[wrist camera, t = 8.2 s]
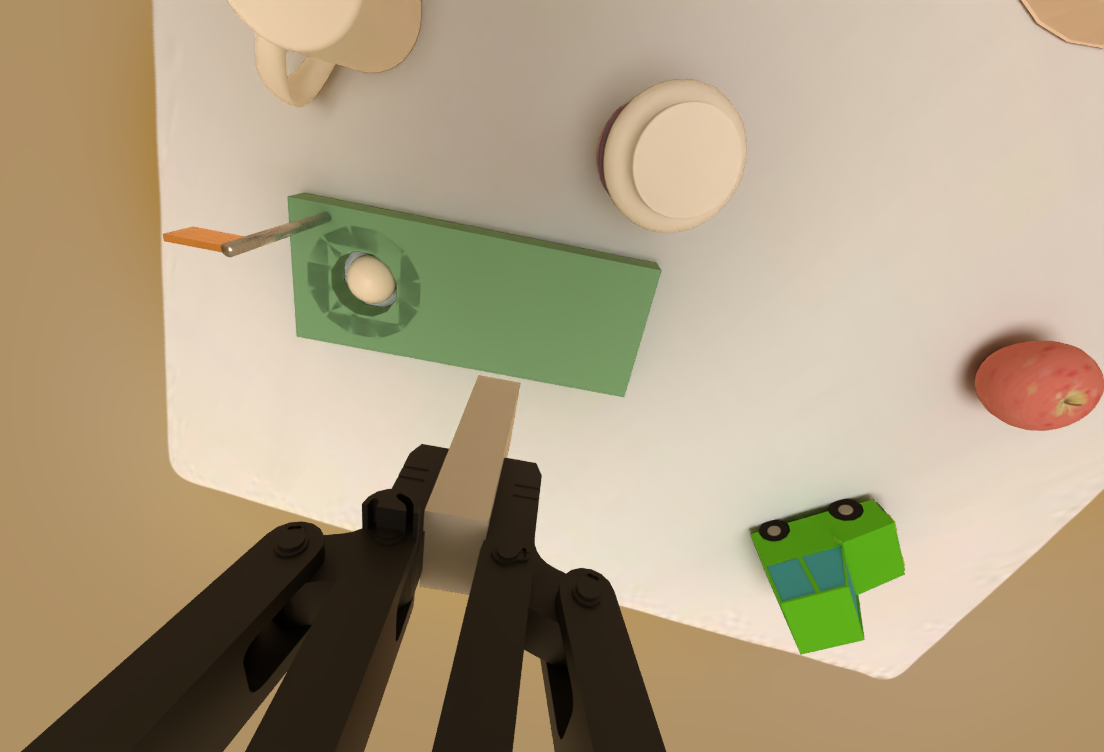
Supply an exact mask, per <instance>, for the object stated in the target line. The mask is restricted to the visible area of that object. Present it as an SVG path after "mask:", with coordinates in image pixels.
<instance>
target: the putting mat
mask: <svg viewBox="0 0 1104 752" xmlns="http://www.w3.org/2000/svg"><path fill="white" fill-rule="evenodd" d="M288 211H289V223H291V222H294V221H297V220H300V219H303V218H307V217H310V216H313V215H316V214H320V213H323V212H328V213H329V214H330V215H331V217H332V219H331V221H330V222H328V223H325V224H323V225H320V226H317V227H314V228H311V229H309V230H306V231H303V232H300V233H297V234H294V235H292V236H290V241H291V257H292V272H293V287H294V302H295V318H296V333H297V337H302V338H308V339H313V340H318V341H324V342H329V343H335V344H340V345H345V346H351V347H356V348H361V349H367V350H372V351H378V352H383V353H388V354H394V355H399V356H405V357H410V358H415V359H421V360H426V361H431V362H437V363H442V364H448V365H453V366H458V367H464V368H469V369H475V370H480V371H485V372H491V373H496V374H502V375H507V376H512V377H518V378H523V379H528V380H534V381H539V382H545V383H550V384H555V385H561V386H566V387H572V388H577V389H582V390H588V391H593V392H599V393H604V394H609V395H615V396H620V397H624V395H625V392H626V389H627V385H628V382H629V378H630V375H631V372H632V368H633V365H634V361H635V358H636V355H637V351H638V348H639V345H640V341H641V338H642V334H643V331H644V328H645V324H646V321H647V317H648V314H649V311H650V307H651V304H652V300H653V297H654V294H655V290H656V287H657V283H658V280H659V277H660V273H661V269H660V268H659V266H658V265H657V263H654V262H649V261H643V260H638V259H633V258H628V257H623V256H618V255H613V254H608V253H603V252H598V251H593V250H588V249H583V248H578V247H573V246H568V245H563V244H558V243H553V242H548V241H543V240H538V239H533V238H528V237H523V236H518V235H513V234H508V233H503V232H498V231H493V230H488V229H483V228H478V227H473V226H468V225H462V224H457V223H452V222H447V221H442V220H437V219H432V218H427V217H422V216H417V215H412V214H407V213H402V212H397V211H392V210H387V209H382V208H377V207H372V206H367V205H362V204H357V203H352V202H347V201H342V200H337V199H332V198H327V197H322V196H317V195H312V194H307V193H301V194H297V195H292V196H288ZM354 251H358V252H363V253H369V254H373V255H375V256H376V257H377V258H379V259H380V260H381V261H382V262H384V263H385V264H386V265H388V266H389V268H390V270H391V272H392V274H393V276H394V278H395V280H396V282H397V294H396V301H395V302H394V303H393V304H392V305H389V306H386V307H383V308H382V307H377V306H372V305H367V304H365V303H364V302H363V301H361V300H360V299H358V298H357V297H356V296H354V295H353V294H352V292H351V290H350V289H349V287H348V285H347V283H346V281H345V279H344V262H345V261H346V259H347V258H348V256H349V255H350V253H351V252H354Z"/></svg>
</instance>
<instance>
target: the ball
mask: <svg viewBox="0 0 1104 752" xmlns="http://www.w3.org/2000/svg"><path fill="white" fill-rule="evenodd" d="M347 284H348V287H349V289H350V290H351V292H352V293H353V294H354V295H355V296H356V297H357V298H358V299H360V300H362V301H364V302H368V303H379V302H383V301H385V300H387V299H388V298H389V297H390V296H391V295H392V294H393V293H394V291H395V289H396V286H397V282H396V280H395V278H394V276H393V274H392V272H391V270H390V268H389V266H388V265H386V264H385V263H384V262H382V261H381V260H380V259H379V258H377V257H376V256H375V255H365V256H362V257H359V258H357V259H356V260H355V261H353V262H352V264H351V265H350V267H349V268H348V271H347Z"/></svg>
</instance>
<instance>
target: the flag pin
mask: <svg viewBox="0 0 1104 752" xmlns="http://www.w3.org/2000/svg"><path fill="white" fill-rule="evenodd" d="M331 219H332V217H331V215H330V214H329V213H328V212H323V213H320V214H316V215H313V216H310V217H307V218H303V219H300V220H297V221H294V222H291V223H287V224H284V225H281V226H278V227H274V228H271V229H268V230H265V231H261V232H258V233H255V234H252V235H248V236H245V237H244V236H239V235H234V234H229V233H224V232H218V231H213V230H208V229H203V228H198V227H190V228H186V229H181V230H177V231H173V232H169V233H165V234H163V238H164V241H166V242H171V243H177V244H182V245H187V246H192V247H197V248H203V249H208V250H213V251H218V252H222V253H223V254H224V255H225V256H227V257H233V256H236V255H238V254H241V253H244V252H247V251H250V250H252V249H255V248H258V247H261V246H264V245H266V244H269V243H272V242H275V241H278V240H280V239H283V238H286V237H289V236H292V235H294V234H297V233H300V232H303V231H306V230H309V229H311V228H314V227H317V226H320V225H323V224H325V223H328V222H330V221H331Z"/></svg>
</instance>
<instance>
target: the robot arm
mask: <svg viewBox="0 0 1104 752" xmlns="http://www.w3.org/2000/svg"><path fill="white" fill-rule="evenodd" d="M519 388H520V383H518V382H512V381H507V380H501V379H496V378H490V377H485V376H478V378H477V381H476V383H475V386H474V388H473V391H472V393H471V396H470V398H469V401H468V403H467V406H466V408H465V411H464V413H463V416H462V418H461V421H460V423H459V426H458V428H457V431H456V433H455V436H454V438H453V441H452V443H451V446H450V448H449V449H447V448H442V447H436V446H430V445H425V444H421V445H420V446H419V447H417V448H416V449H415V450H414V451H412V452H411V453H410V454H409V456H408V458H407V460H406V462H405V464H404V467H403V468H402V470H401V472H400V474H399V476H398V478H397V479H396V481H395V483H394V485H393V487H392V489H386V490H382V491H378V492H376V493H374V494H372V495H371V496H369V497H368V498H367V499H366V500H365V501H364V502H363V503H362V529H359V530H357V531H354V532H350V533H344V534H333V535H323V533H322V531H321V529H320V528H318V527H317V526H315V525H314V524H312V523H307V522H291V523H287V524H285V525H282V526H279V527H277V528H275V529H274V530H272V531H271V532H269V533H268V534H266V535H265V536H264V537H263V538H262V539H261V540H260V541H259V542H257V543H256V544H255V545H254V546H253V547H252V548H251V549H249V550H248V552H246V553H245V554H244V555H243V556H242V557H240V558H239V559H238V560H237V561H236V562H235V563H234V564H233V565H231V566H230V567H229V568H228V569H227V570H226V571H225V572H224V573H222V574H221V575H220V576H219V577H218V578H217V579H216V580H214V581H213V582H212V583H211V584H210V585H209V586H208V587H207V588H206V589H204V590H203V591H202V592H201V593H200V594H199V595H198V596H196V597H195V598H194V599H193V600H192V601H191V602H190V603H188V604H187V605H186V606H185V607H184V608H183V609H182V610H181V611H179V613H177V614H176V615H175V616H174V617H173V618H172V619H171V620H169V621H168V622H167V623H166V624H165V625H164V626H163V627H162V628H160V629H159V630H158V631H157V632H156V633H155V634H153V635H152V636H151V637H150V638H149V639H148V640H147V641H146V642H144V643H143V644H142V645H141V646H140V647H139V648H138V649H137V650H135V651H134V652H133V653H132V654H131V655H130V656H129V657H127V658H126V659H125V660H124V661H123V662H122V663H121V664H120V665H119V666H117V667H116V668H115V669H114V670H113V671H112V672H111V673H109V674H108V675H107V676H106V677H105V678H104V679H103V680H102V681H100V682H99V683H98V684H97V685H96V686H95V687H94V688H92V689H91V690H90V691H89V692H88V693H87V694H86V695H85V696H83V697H82V698H81V699H80V700H79V701H78V702H77V703H76V704H74V705H73V706H72V707H71V708H70V709H69V710H68V711H67V712H65V713H64V714H63V715H62V716H61V717H60V718H59V719H57V721H55V722H54V723H53V724H52V725H51V726H50V727H48V728H47V729H46V730H45V731H44V732H43V733H42V734H41V735H39V736H38V737H37V738H36V739H35V740H34V741H33V742H31V743H30V744H29V745H28V746H27V747H26V748H25V749H24V750H22V751H21V752H223V751H224V750H225V748H226V747H227V746H228V745H229V743H230V742H231V741H232V740H233V738H234V737H235V736H236V735H237V733H238V732H239V731H240V730H241V728H242V727H243V726H244V724H245V723H246V722H247V721H248V720H249V718H250V717H251V716H252V714H253V713H254V712H255V711H256V710H257V708H258V707H259V706H260V704H261V703H262V702H263V701H264V700H265V698H266V697H267V696H268V695H269V693H270V692H271V691H272V690H273V688H274V687H275V686H276V685H277V683H278V682H279V681H280V680H281V678H282V677H283V676H284V674H285V673H286V672H287V673H286V675H285V677H284V679H283V681H282V683H281V685H280V687H279V688H278V690H277V692H276V694H275V696H274V698H273V700H272V702H271V704H270V705H269V707H268V709H267V711H266V713H265V715H264V717H263V719H262V721H261V723H260V724H259V726H258V728H257V730H256V732H255V734H254V736H253V738H252V740H251V742H250V743H249V745H248V747H247V749H246V751H245V752H364V750H365V747H366V744H367V741H368V738H369V735H370V732H371V730H372V727H373V724H374V721H375V718H376V715H377V712H378V709H379V706H380V703H381V700H382V697H383V694H384V691H385V688H386V686H387V683H388V679H389V677H390V674H391V671H392V668H393V665H394V662H395V659H396V656H397V653H398V650H399V647H400V644H401V641H402V638H403V635H404V633H405V630H406V627H407V624H408V621H409V618H410V615H411V612H412V609H413V605H414V604H413V603H414V594H415V590H416V587H417V584H418V581H419V579H420V587H425V588H431V589H437V590H443V591H449V592H455V593H461V594H467V595H469V599H468V603H467V607H466V611H465V615H464V619H463V624H462V628H461V632H460V636H459V640H458V645H457V649H456V653H455V657H454V661H453V666H452V670H451V674H450V678H449V682H448V687H447V691H446V695H445V699H444V703H443V707H442V712H441V716H440V720H439V724H438V728H437V733H436V737H435V741H434V745H433V749H432V752H512V751H513V750H512V749H513V742H514V732H515V724H516V715H517V706H518V697H519V688H520V679H521V670H522V661H523V653H524V650H526V651H528V652H529V653H531V654H533V655H535V656H537V657H539V658H540V659H541V666H542V673H543V679H544V685H545V692H546V698H547V705H548V711H549V717H550V724H551V730H552V737H553V744H554V750H555V752H666V750H665V746H664V743H663V741H662V737H661V734H660V731H659V728H658V725H657V722H656V719H655V716H654V712H653V709H652V706H651V703H650V700H649V697H648V694H647V691H646V688H645V685H644V682H643V678H642V676H641V672H640V670H639V666H638V663H637V660H636V657H635V654H634V651H633V648H632V644H631V641H630V638H629V635H628V632H627V629H626V626H625V623H624V620H623V617H622V614H621V611H620V607H619V604H618V601H617V598H616V595H615V592H614V590H613V588H612V586H611V584H610V582H609V581H608V580H607V579H606V578H605V577H604V576H603V575H602V574H600V573H598V572H596V571H594V570H592V569H585V568H578V569H574V570H571V571H569V572H568V573H567V574H566V573H564V572H562V571H560V570H557V569H555V568H554V567H552V566H550V565H549V564H547V563H546V562H545V561H544V560H543V559H542V558H541V557H540V555H539V554H538V552H537V550H536V547H535V530H536V521H537V512H538V503H539V494H540V486H541V477H542V475H541V473H540V471H539V468H538V466H537V464H536V463H532V462H527V461H521V460H515V459H510V458H507V455H508V451H509V446H510V441H511V435H512V429H513V424H514V418H515V412H516V406H517V400H518V394H519Z"/></svg>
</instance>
